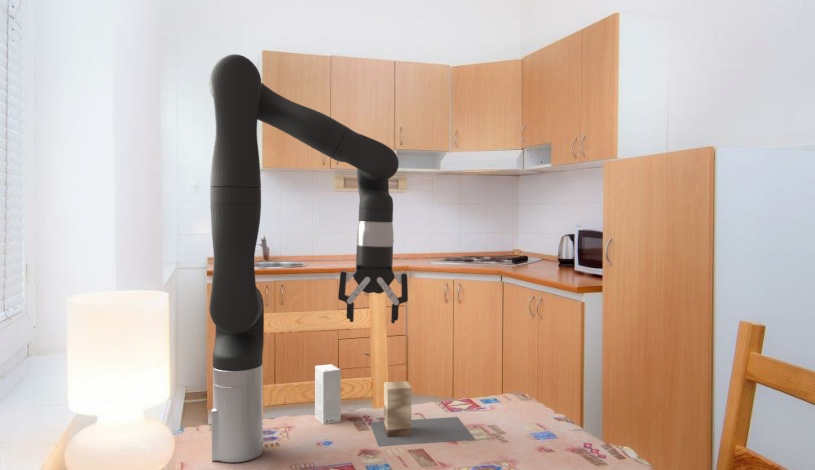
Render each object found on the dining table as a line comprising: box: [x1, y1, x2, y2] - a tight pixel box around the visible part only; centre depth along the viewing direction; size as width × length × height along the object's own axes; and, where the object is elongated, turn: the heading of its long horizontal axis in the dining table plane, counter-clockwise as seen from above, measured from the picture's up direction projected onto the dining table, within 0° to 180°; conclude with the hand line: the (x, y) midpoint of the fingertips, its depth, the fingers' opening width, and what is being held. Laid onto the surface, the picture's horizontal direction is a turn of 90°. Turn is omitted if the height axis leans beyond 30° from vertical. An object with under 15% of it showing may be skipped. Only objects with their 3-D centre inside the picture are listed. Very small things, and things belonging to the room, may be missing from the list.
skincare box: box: [314, 363, 342, 425], centre depth 137 cm, size 6×4×12 cm
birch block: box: [383, 381, 412, 437], centre depth 128 cm, size 5×5×10 cm
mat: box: [369, 416, 476, 447], centre depth 129 cm, size 20×14×1 cm
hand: (372, 322), depth 126 cm, fingers open, 8 cm apart
